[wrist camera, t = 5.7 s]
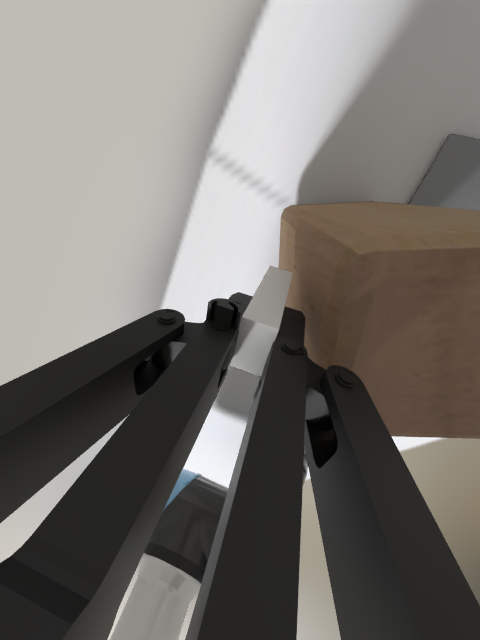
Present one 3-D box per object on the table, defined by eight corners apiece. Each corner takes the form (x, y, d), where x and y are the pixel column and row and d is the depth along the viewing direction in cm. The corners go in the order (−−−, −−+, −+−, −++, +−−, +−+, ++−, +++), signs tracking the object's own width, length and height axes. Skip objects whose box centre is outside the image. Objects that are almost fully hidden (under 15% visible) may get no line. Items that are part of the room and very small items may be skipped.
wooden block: (276, 291, 28) (311, 442, 11) (280, 205, 23) (352, 244, 6) (355, 289, 28) (520, 448, 11) (376, 200, 23) (762, 228, 5)
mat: (487, 393, 30) (490, 396, 29) (329, 340, 32) (329, 342, 32) (758, 198, 16) (769, 199, 16) (449, 134, 19) (451, 133, 19)
